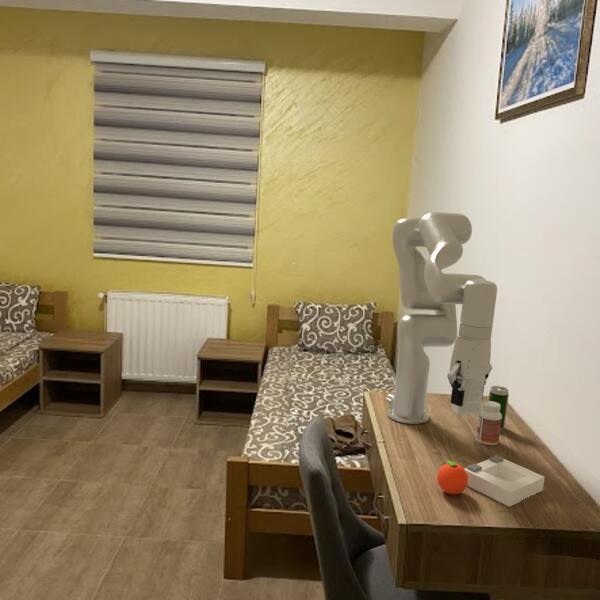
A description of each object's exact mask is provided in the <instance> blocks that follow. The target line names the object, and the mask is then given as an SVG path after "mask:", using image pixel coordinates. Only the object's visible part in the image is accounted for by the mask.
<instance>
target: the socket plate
mask: <svg viewBox="0 0 600 600" xmlns="http://www.w3.org/2000/svg"><path fill="white" fill-rule="evenodd" d="M464 470H465V471H466V473H467V476H468V484H467V486H468V487H469V488H471V489H473V490H475V491H477V492H479V493H481V494H483V495H484V496H487V497H489V498H491V499H493V500H495V501H497V502H499V503H500V504H502V505H505V506H507V507H512V506H514V505H516V504H518V503H521V502H522V501H524V500H526V499H528V498H530V497H532V496H534V495H537V494H538V493H540V492H543V490H544V483H545V478H546V476H544V475H542V474H539V473H536V472H535V471H533V470H530V469H529V468H526V467H524V466H521V465H519V464H518V463H517V464H516V463H514V462H512V461H510V460H508V459H505V458H504V457H501V456H499V455H497V454H496V455H493V456H490V457H489V458H488V459H486V460H483V461H481V462H479V463H473V464H470V465H469V466H468V465H467V467H465V468H464ZM467 486H466V487H467ZM536 493H537V494H536ZM531 495H532V496H531ZM529 496H530V497H529ZM527 497H528V498H527ZM525 498H526V499H525ZM523 499H524V500H523ZM521 500H522V501H521Z"/></svg>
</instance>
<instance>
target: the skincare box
mask: <svg viewBox="0 0 600 600" xmlns="http://www.w3.org/2000/svg"><path fill="white" fill-rule="evenodd" d="M485 371H486V368H484V367H483V368H480V369H479V372H478V374H477V376H476V378H473V379H469V380H467V381H466V383H465V386H464V388H463V390H464V399H463V406H461V407H460V406H457V405H455V404H452V403H451V408H450V409H451V411H453V412H454V413H455V414H456V415H457V416H479V415H480V414H481V410H482V406H483V403H482V402H483V400H482V396H483V397H484V393H483V388H484V389H485V385H484V379H485ZM462 375H463V374H461V373H460V374H459V376H461V377H462ZM461 381H462V380H460V379H458V382H459V384H460V383H461Z"/></svg>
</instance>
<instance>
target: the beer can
mask: <svg viewBox="0 0 600 600" xmlns="http://www.w3.org/2000/svg"><path fill="white" fill-rule="evenodd" d="M509 396H510V393H509V389H508V387H505V386H501V385H492V386H490V389H489V394H488V400H487V401H493V402H497V403H499V404H500V405H501V407H500V411H499V412H500V413H501V414H502V420H501V428H500V431H502V430H503V429H504V428H505V423H506V415H507V410H508V409H507V408H508V401H509Z"/></svg>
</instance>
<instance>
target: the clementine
mask: <svg viewBox="0 0 600 600" xmlns="http://www.w3.org/2000/svg"><path fill="white" fill-rule="evenodd" d="M445 463H446V464H445ZM464 469H465V468H464V467H463V466H462V465H460V464H458V463H455V462H453V461H450V460H447V461H444V462H443V463H442V465H441V467H440V468H439V470H438V472H437V476H436V477H437V478H436V480H437V484H438V486H439V488H440V489H441V490H442V491H443V492H445V493H447V494H449V495H459V494H460V493H462V492H464V491H465V489H466V488H467V484H468V476H467V473H466V471H465V470H464Z"/></svg>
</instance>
